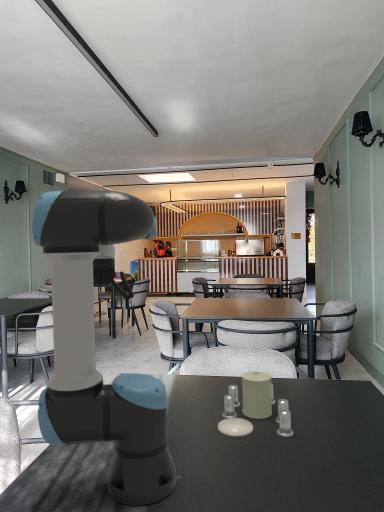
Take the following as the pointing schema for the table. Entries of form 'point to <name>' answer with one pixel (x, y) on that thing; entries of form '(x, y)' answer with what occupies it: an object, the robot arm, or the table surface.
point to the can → (256, 394)
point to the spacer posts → (283, 411)
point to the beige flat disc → (235, 427)
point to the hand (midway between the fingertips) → (105, 319)
